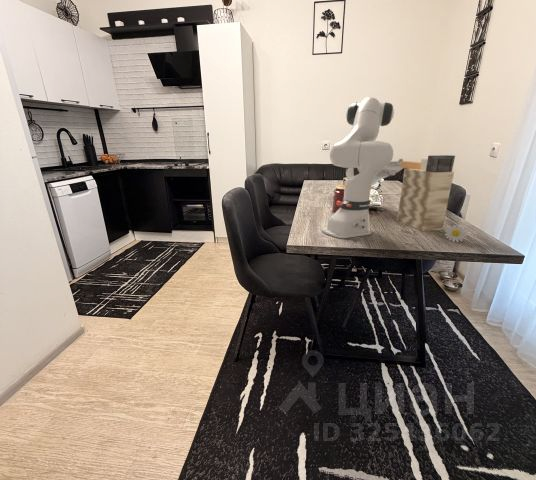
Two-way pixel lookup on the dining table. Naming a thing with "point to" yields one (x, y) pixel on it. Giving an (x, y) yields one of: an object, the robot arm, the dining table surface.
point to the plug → (415, 164)
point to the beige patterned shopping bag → (426, 194)
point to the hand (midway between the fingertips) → (394, 160)
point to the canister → (338, 196)
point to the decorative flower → (455, 233)
